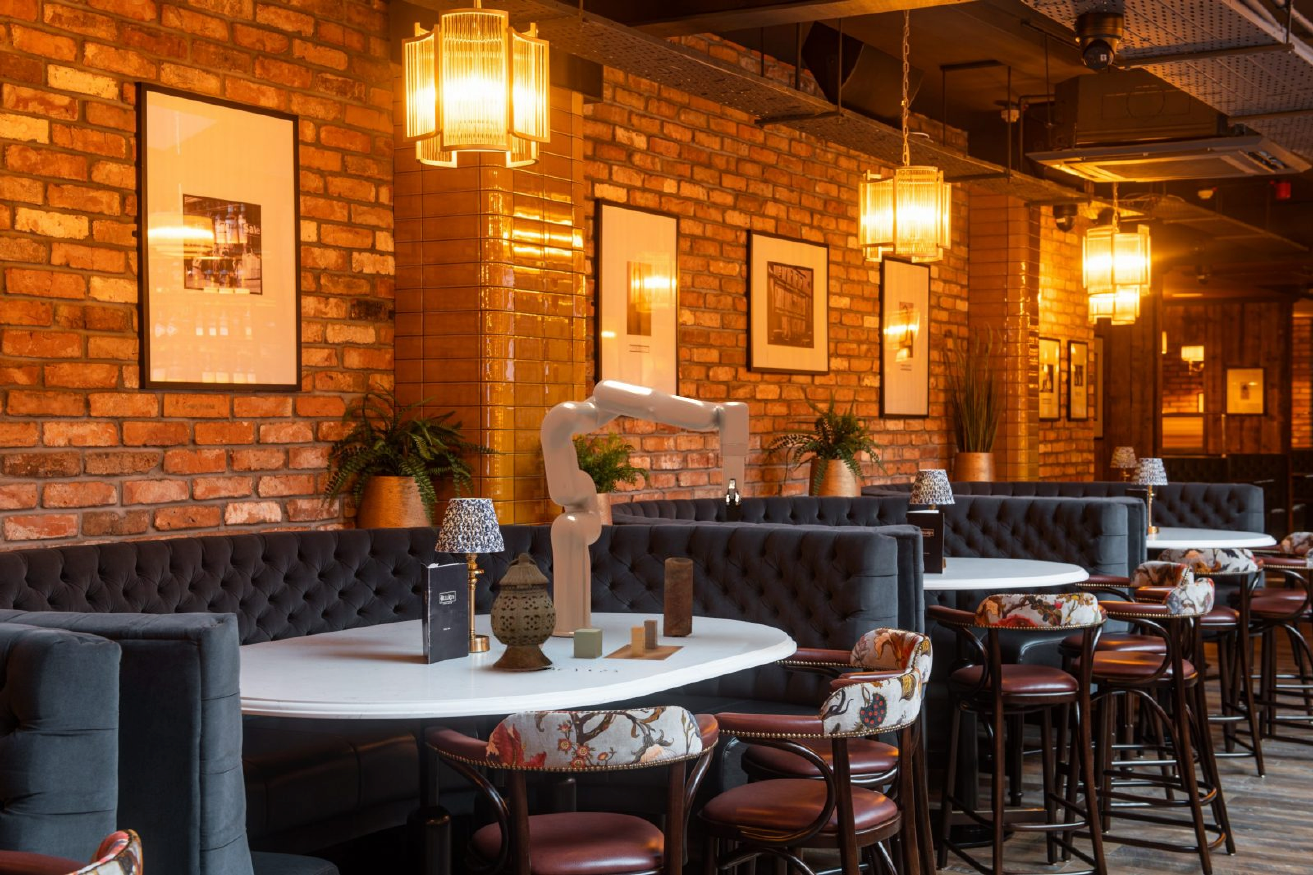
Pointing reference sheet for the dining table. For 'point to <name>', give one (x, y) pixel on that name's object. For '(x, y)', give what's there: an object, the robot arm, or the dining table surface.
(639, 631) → the brass post
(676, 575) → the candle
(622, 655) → the board
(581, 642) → the olive block
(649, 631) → the brown post
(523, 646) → the lantern
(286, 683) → the dining table surface
